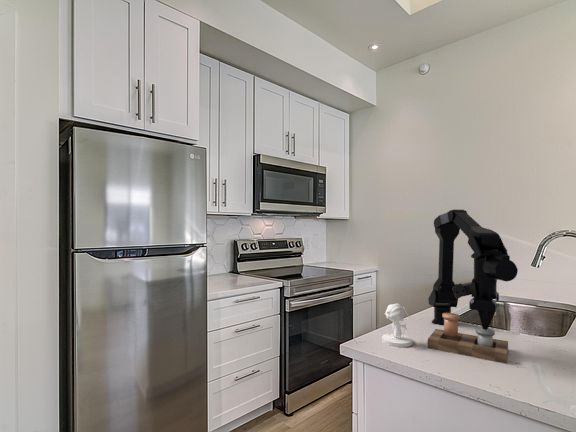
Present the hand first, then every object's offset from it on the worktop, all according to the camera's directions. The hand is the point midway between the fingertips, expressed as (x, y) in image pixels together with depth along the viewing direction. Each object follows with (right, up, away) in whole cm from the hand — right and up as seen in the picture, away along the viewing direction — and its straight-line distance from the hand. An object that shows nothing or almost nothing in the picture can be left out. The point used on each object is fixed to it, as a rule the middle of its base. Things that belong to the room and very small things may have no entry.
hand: (485, 329), depth 99 cm
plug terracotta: (-7, -3, +5) cm, 10 cm away
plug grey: (0, -6, 0) cm, 6 cm away
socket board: (-4, -7, +3) cm, 8 cm away
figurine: (-23, -7, +8) cm, 25 cm away
